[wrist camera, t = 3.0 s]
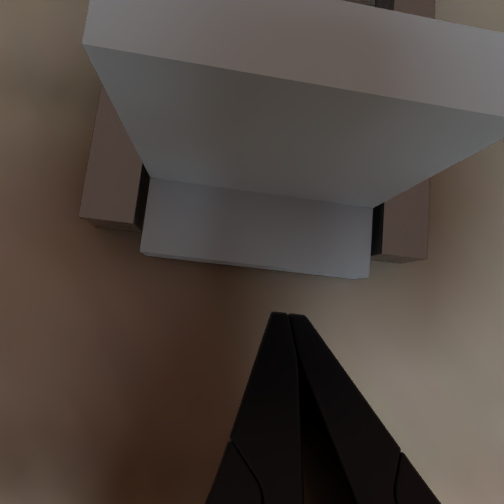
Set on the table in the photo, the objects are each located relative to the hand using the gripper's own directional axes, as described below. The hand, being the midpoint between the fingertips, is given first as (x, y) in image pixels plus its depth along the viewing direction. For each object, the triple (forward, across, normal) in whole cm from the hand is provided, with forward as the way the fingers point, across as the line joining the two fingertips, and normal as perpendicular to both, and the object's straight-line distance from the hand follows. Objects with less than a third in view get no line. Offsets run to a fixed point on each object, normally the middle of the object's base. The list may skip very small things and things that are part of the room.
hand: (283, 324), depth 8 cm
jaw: (+8, 0, +1) cm, 8 cm away
